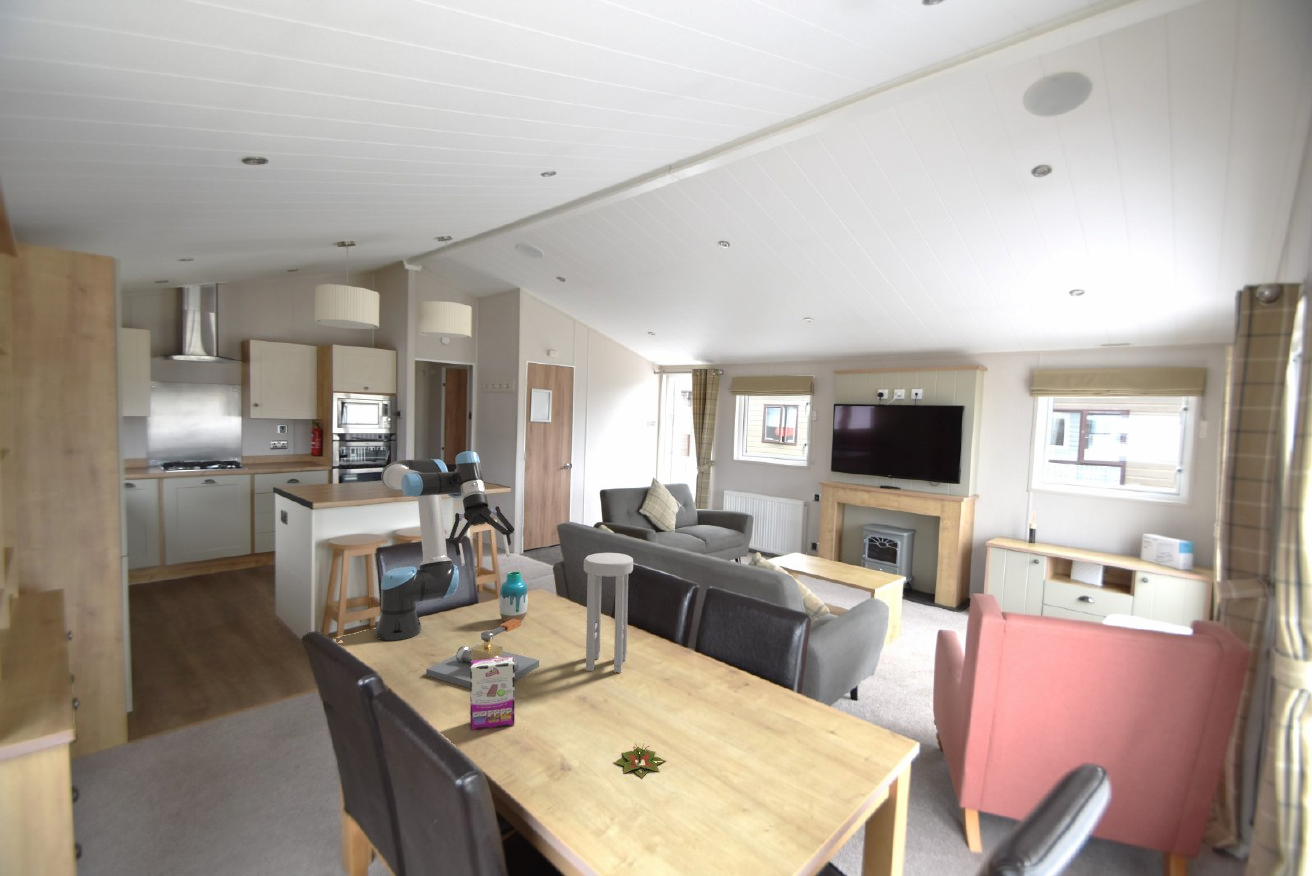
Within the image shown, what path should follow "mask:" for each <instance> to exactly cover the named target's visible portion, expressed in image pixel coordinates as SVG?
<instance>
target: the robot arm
mask: <svg viewBox="0 0 1312 876" xmlns="http://www.w3.org/2000/svg"><path fill="white" fill-rule="evenodd" d="M454 464H455V465H456V468H455V469H454V471H449V470H448V467H447V464H446V463H445V462H444V461H443V460H441V459H437V458H436V459H434V458H422V459H400V460H395V461H393V462H390V463H389V464H387V465H386V466H385V467H384V468H383V470H382V472H381V481H382V483H383V485H384V486H385V487H387V488H388V489H391V490H395V491H396V490H397V491H398V490H399V491H400V490H401V492H402V494H403V496H404V497H412V498H413V497H414V498H417V503H418V515H419V526H420V529H419V530H420V538H421V539H420V540H421V549H422V561H421V562H420V563H419V569H417V567H415V566H412V565H409V566H399V567H395V568H392V569H390V570H387V571H386V572H385V573H384V574H382V577H381V583H380V590H381V592H380V593H381V595H380V596H381V598H380V599H381V600H380V601H381V602H380V608H381V609H380V617H379V620H378V623H377V626H376V629H375V637H376V638H377V639H378V638H380V639H379V640H381V639H384V640H383V641H390V640H391V641H399V640H398V639H402V640H406V638H407V639H410V638H413V637H415V635H416V636H418V634H420V633H421V632H422V624H421V622H420V619H419V615H418V613H417V603H419V602H420V603H421V602H426V601H427V602H428V601H434V600H439V599H445V598H449V597H452V596H454V595H455V593H456V592H457V589H458V586H459V582H460V577H459V576H460V573H459V571H460V570H459V568H458V566H457V565H456V564H453V561H452V558H450V557H449V556H448V554H447V552H448V550H447V545H449V546H454V549H455V555H456V556H459V557H460V561H461V563H460V564H461V567H464V566H465V565H466V561H465V556H464V550H463V545H462V542H461V541H463V538H465V535H466V534H467V532H468V530H469V529H470V527H471V526H474V527H475V526H479V525H485V524H488V525H490V526H491V527H492V528H494V529H495V530H496V531H498V532H499V533H500V534H502V535H503V536H502V541H503V546H504V550H505V556H506V558H509V557H510V555H511V552H510V547H509V546H511V545H512V541H511V536H510V535H512V534H514V533H515V532H514V531H515V528H514V527H513V525H512V524H511V523H510V521H509V520H508V519H507V518H506V516H505V515H504V514H503V513H502V511H501V509H500V506H497V505H496V506H495V507H494V508H490V507H489V501H488V498H487V497H488V496H487V492H486V487H485V482H484V481H485V480H484V476H483V471H482V465H481V461H480V457H479V454H478V452H475V451H473V450H472V451H471V450H469V451H462V452H460V453H458V454H457V455H456V456H455V463H454ZM442 495H444V496H445V495H447V496H449V497H451V498H454V499H458V498H461V499H462V504H463V509H464V513H459V512H456V513H455V515H454V522H453V527H452V529H451V531H450V534H449V538H448V540H447V542H446V532H445V523H444V521H445V520H444V512H443V503H442ZM491 514H493V515H494V516H496V517H497V519H498V520H499V521H500V522H501V523H498V522H497V521H496V520H494V519H493V517H491ZM463 519H465V520H466V523H465V524H464V526H463V527H462V529H461V531H460V532H459V534H458V535H457V536H456V533H457V530H458V527H459V524H460V522H462V520H463ZM455 536H456V538H455ZM446 543H447V544H446ZM420 631H421V632H420Z"/></svg>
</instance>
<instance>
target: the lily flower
mask: <svg viewBox="0 0 1312 876" xmlns="http://www.w3.org/2000/svg"><path fill="white" fill-rule="evenodd" d="M650 745H651V744H649V745H647V746H645V744H643V745H642V747H640V746H641V745H640V744H639V746H638V745H637V743H635V745H633V747H632V749H633V750H628V751H625V752H624V751H623V752H621V754H622V755H623V757H621V758H618V759H617V760H616V761H614V762H612V763H613V764H617V765H620V766H623V768H624V769H623V770H624V771H623V774H626V773H628V772H630V771H633V772H635V774H637V776H639V777H640V778H641V779H643V777H644V776H646V774H647V773H648V772H649V770H652V771H654V772H658V773H660V771H659V768H658V767H659V766H658V765H660V764H662V763H665V762H666V760H665V759H663V758H661V757H658V756H656V751H654V750H650V749H649V750H648V748H649V747H650ZM644 746H645V747H644ZM643 748H644V749H643ZM639 752H640V754H639ZM636 761H638V763H639V764H640V763H642V761H644V764H641V765H636ZM654 761H663V762H657V763H655V762H654ZM640 768H643V770H644V771H643V770H639V769H640Z"/></svg>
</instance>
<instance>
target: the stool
mask: <svg viewBox="0 0 1312 876" xmlns="http://www.w3.org/2000/svg"><path fill="white" fill-rule="evenodd" d="M633 570H634V558H633V557H632V556H630V555H628V554H625V553H619V552H599V553H593V554H588V555H587V556H586V557H585V558H584V559H583V571H584V572H585V573H586V574H587V585H586V586H587V587H586V588H587V591H586V593H587V594H586V595H587V596H586V639H585V641H586V646H585V648H586V650H585V653H586V654H585V671H587V672H590V671H591V672H594V669H595V660H600V658H599V657H601V625H602V624H601V621H602V620H601V615H602V614H601V612H602V611H601V610H602V577H608V578H609V577H612V578H613V577H615V596H614V597H615V601H614V603H615V605H614V606H615V608H614V645H613V647H614V650H613V651H614V654H613V655H614V657H613V663H614V664H613V673H616V672H618V674H619V673H622V671H623V662H625V661H626V660H627V653H628V651H627V650H628V649H627V648H628V647H627V646H628V644H627V643H628V605H629V604H628V601H629V599H628V598H629V594H628V593H629V575H630V574H632V573H633Z"/></svg>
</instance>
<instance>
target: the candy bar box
mask: <svg viewBox="0 0 1312 876" xmlns="http://www.w3.org/2000/svg"><path fill="white" fill-rule="evenodd" d="M515 682H516V681H515V664H514V657H506V658H495V659H485V660H475V661H471V667H470V688H469V691H470V695H469V697H470V698H469V699H470V701H469V702H470V703H469V704H470V705H469V706H470V711H469V714H470V717H469V718H470V720H469V721H470V725H469V727H470V731H475V730H476V731H478V730H484V729H492V728H500V727H507V726H508V727H509V726H513V725H514V726H515V720H516V719H515V718H516V717H515V708H516V707H515V700H516V699H515V696H516V695H515V694H516V693H515V689H516V688H515Z"/></svg>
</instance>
